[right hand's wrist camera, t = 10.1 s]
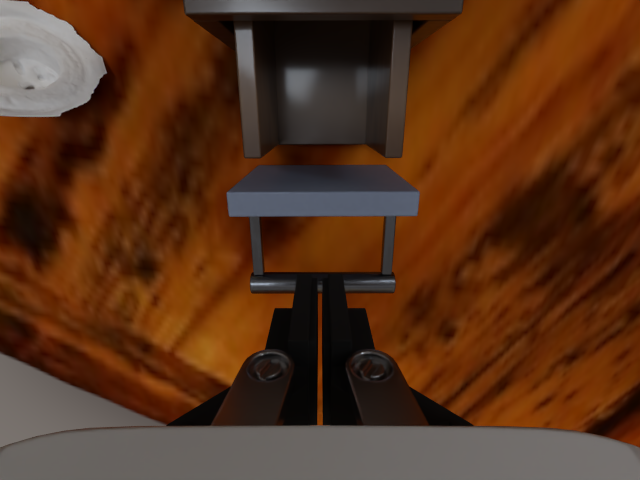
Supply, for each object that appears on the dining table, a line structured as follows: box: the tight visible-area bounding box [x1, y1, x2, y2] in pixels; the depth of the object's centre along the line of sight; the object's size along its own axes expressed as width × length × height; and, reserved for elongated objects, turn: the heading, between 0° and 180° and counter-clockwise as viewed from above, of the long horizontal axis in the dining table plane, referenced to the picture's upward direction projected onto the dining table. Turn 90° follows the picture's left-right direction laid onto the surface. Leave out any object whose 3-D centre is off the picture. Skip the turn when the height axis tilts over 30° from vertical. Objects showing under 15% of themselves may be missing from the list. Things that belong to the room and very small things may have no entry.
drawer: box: [227, 20, 420, 294], centre depth 19 cm, size 18×9×9 cm, turn 0°
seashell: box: [0, 0, 107, 117], centre depth 20 cm, size 8×5×8 cm
